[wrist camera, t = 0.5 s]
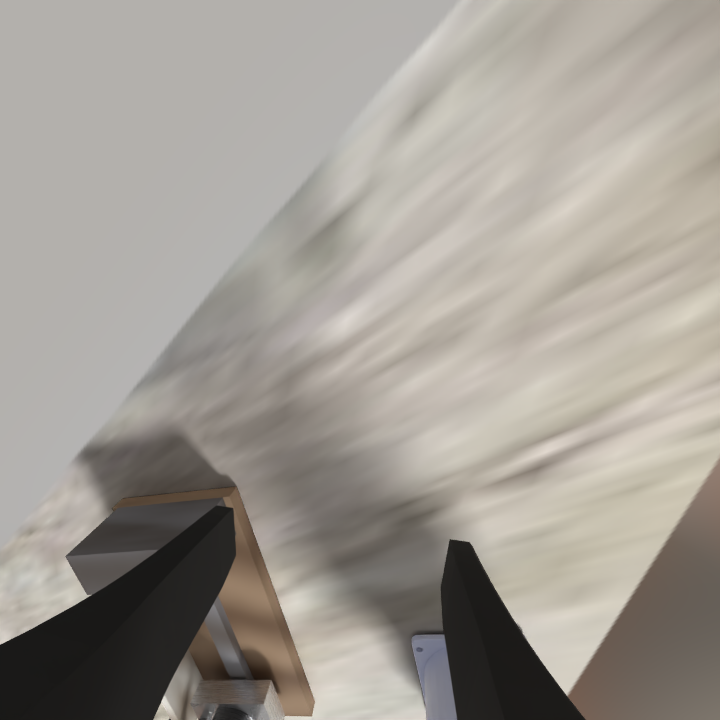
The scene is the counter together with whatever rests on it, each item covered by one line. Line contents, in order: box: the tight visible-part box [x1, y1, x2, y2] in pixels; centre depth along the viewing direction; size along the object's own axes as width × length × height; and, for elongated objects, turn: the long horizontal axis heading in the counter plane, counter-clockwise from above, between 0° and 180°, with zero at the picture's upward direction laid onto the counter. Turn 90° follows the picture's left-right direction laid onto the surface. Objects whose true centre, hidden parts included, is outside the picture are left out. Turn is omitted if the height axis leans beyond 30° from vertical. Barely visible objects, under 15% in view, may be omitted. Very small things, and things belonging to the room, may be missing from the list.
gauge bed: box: [65, 487, 315, 720], centre depth 25 cm, size 22×9×5 cm, turn 12°
